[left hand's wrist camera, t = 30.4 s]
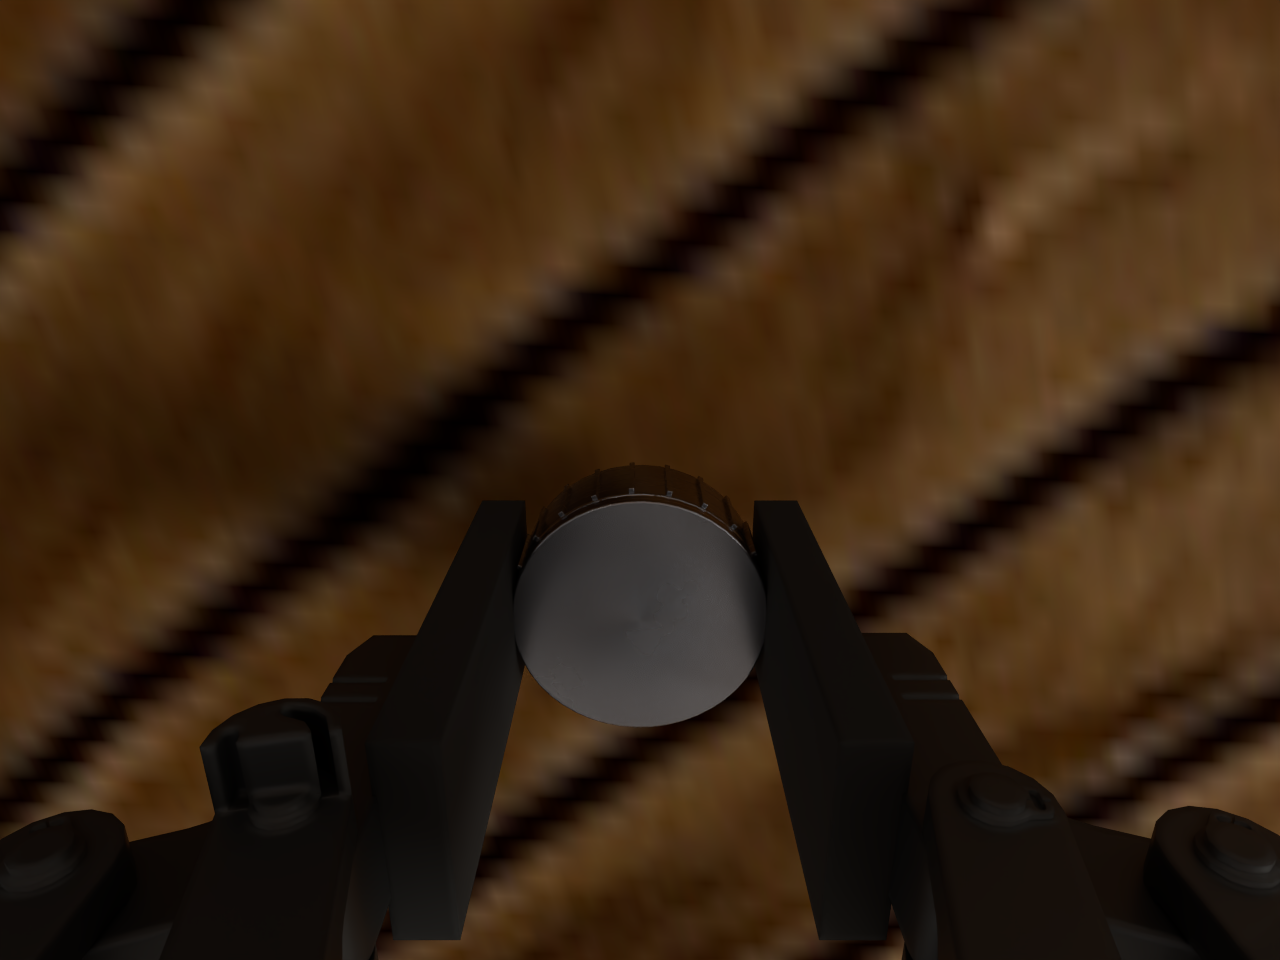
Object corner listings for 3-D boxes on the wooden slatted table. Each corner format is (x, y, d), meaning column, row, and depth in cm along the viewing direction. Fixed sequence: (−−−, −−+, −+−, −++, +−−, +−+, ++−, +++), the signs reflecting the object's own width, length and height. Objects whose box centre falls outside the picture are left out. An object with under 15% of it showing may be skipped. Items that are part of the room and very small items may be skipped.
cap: (796, 613, 15) (815, 666, 13) (595, 704, 16) (589, 766, 14) (692, 418, 14) (699, 451, 12) (477, 528, 14) (456, 573, 13)
